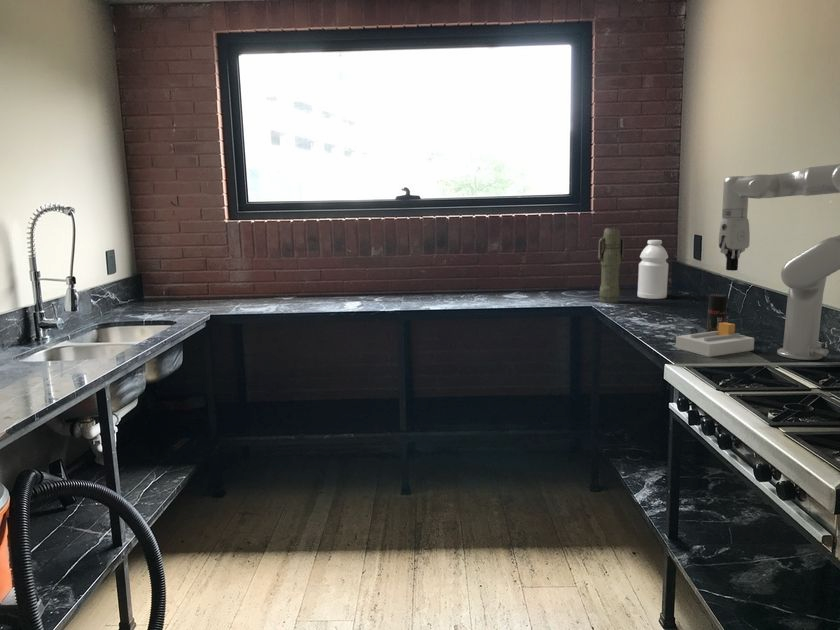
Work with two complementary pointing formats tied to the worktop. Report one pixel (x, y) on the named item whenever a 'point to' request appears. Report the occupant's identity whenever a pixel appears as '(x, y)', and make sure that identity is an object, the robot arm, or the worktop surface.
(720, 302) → the deodorant
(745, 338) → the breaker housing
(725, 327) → the block
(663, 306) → the worktop surface
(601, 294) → the thermos
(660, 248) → the bottle
